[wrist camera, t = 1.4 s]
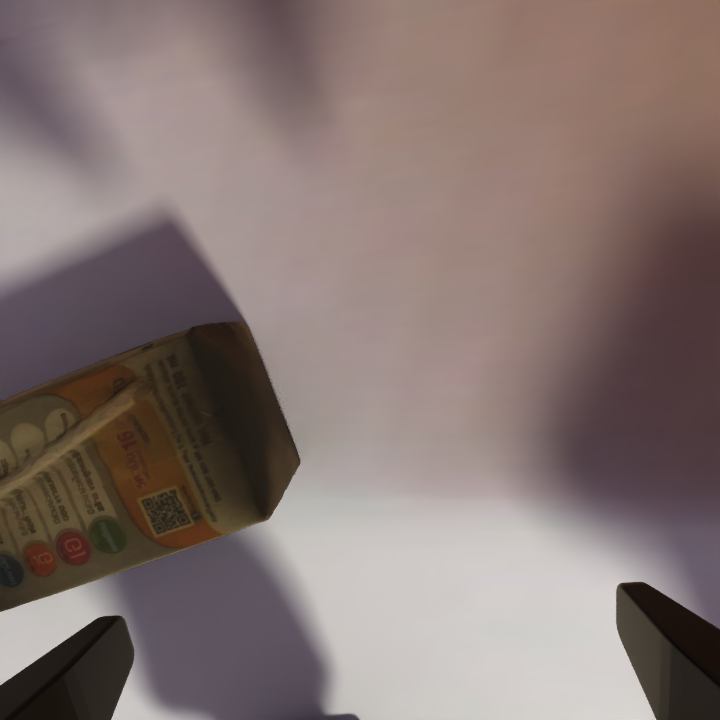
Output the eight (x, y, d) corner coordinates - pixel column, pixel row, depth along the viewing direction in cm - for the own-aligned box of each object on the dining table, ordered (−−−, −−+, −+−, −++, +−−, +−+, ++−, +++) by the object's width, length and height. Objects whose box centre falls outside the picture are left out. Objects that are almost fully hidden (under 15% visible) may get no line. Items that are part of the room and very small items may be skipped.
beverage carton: (-84, 443, 23) (-270, 503, 16) (250, 309, 21) (191, 317, 14) (-13, 575, 24) (-162, 681, 17) (313, 459, 22) (284, 530, 15)
